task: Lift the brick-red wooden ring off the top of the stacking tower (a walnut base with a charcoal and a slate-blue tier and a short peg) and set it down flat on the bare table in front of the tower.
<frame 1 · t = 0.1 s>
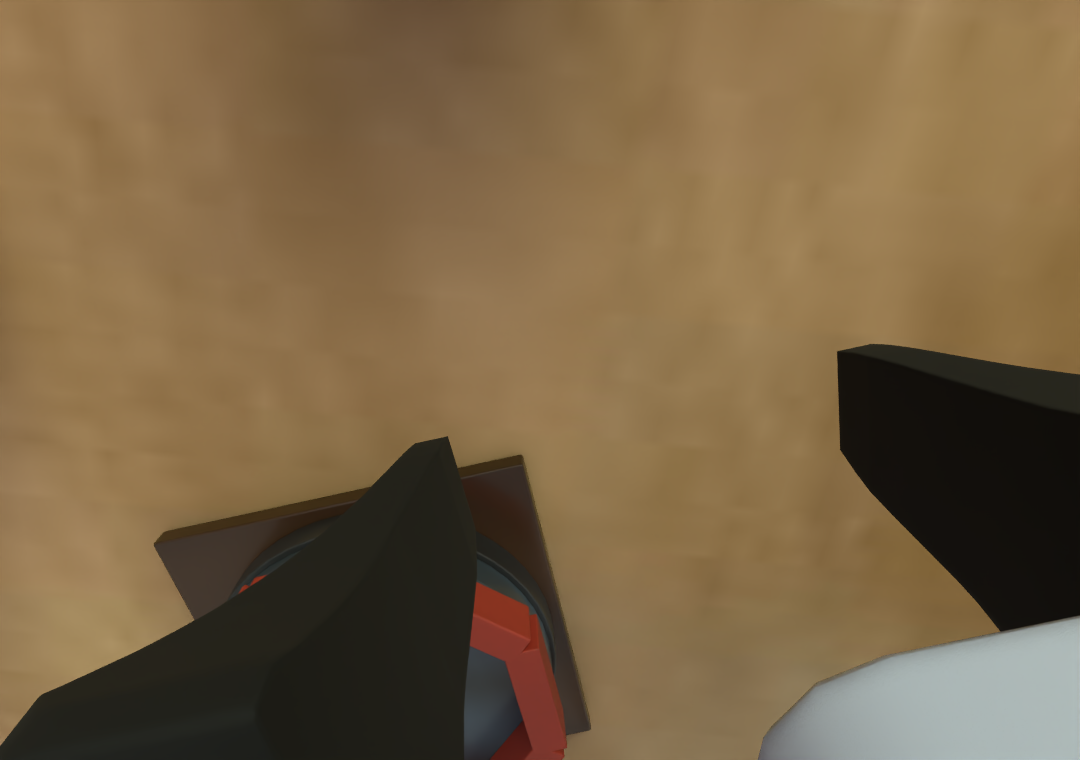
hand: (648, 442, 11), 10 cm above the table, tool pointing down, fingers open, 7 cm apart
stand: (396, 631, 26), on the table
brick ring: (382, 697, 23), point 3 cm above the table, touching stand
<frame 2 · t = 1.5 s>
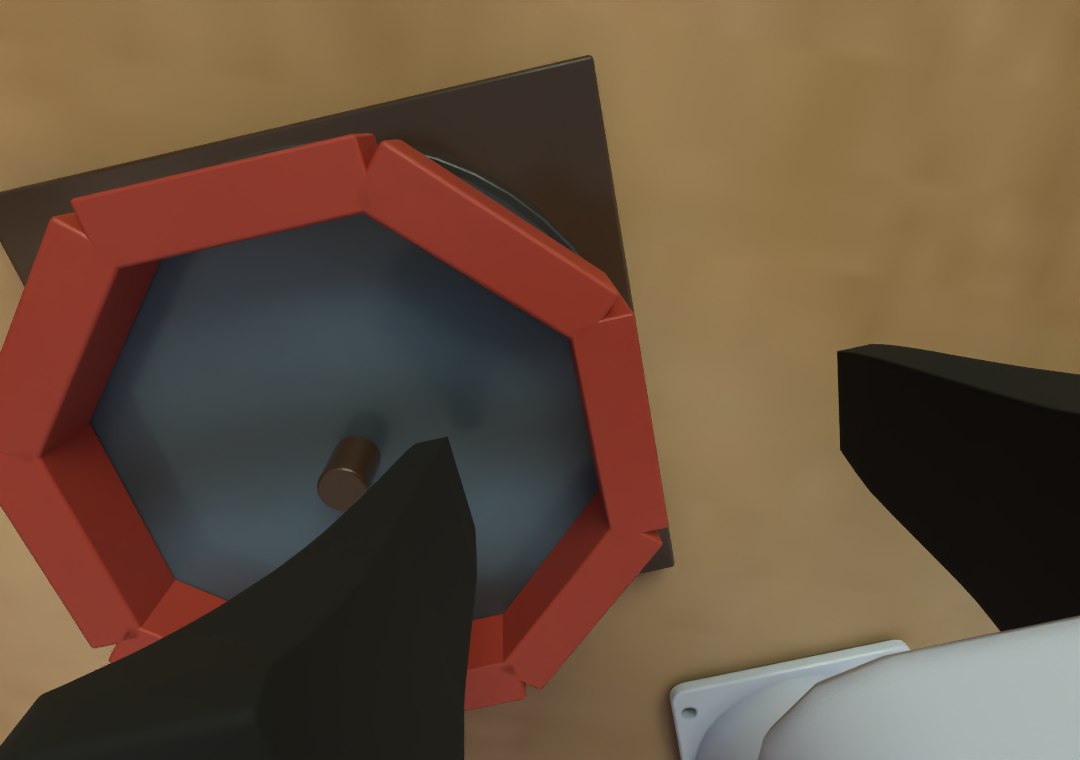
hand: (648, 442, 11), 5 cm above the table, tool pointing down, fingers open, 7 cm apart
stand: (382, 397, 17), on the table
brick ring: (357, 456, 14), point 3 cm above the table, touching stand
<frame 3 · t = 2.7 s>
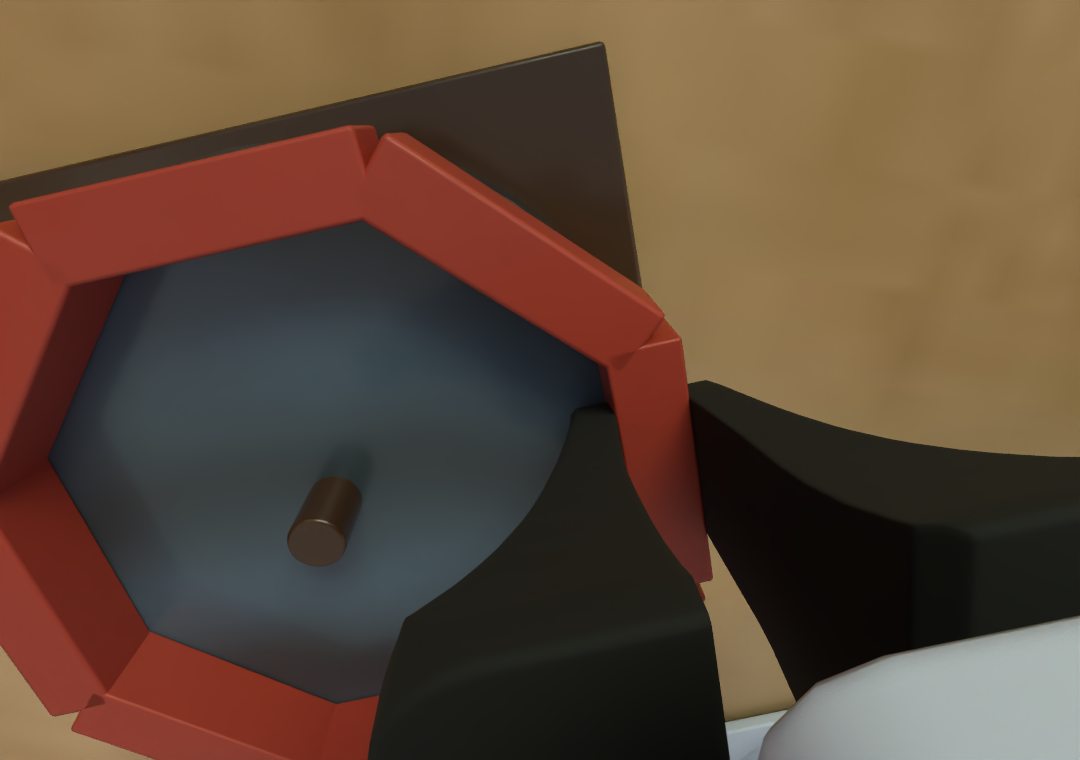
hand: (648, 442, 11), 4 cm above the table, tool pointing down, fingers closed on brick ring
stand: (368, 425, 15), on the table
brick ring: (355, 495, 12), point 3 cm above the table, touching gripper, stand
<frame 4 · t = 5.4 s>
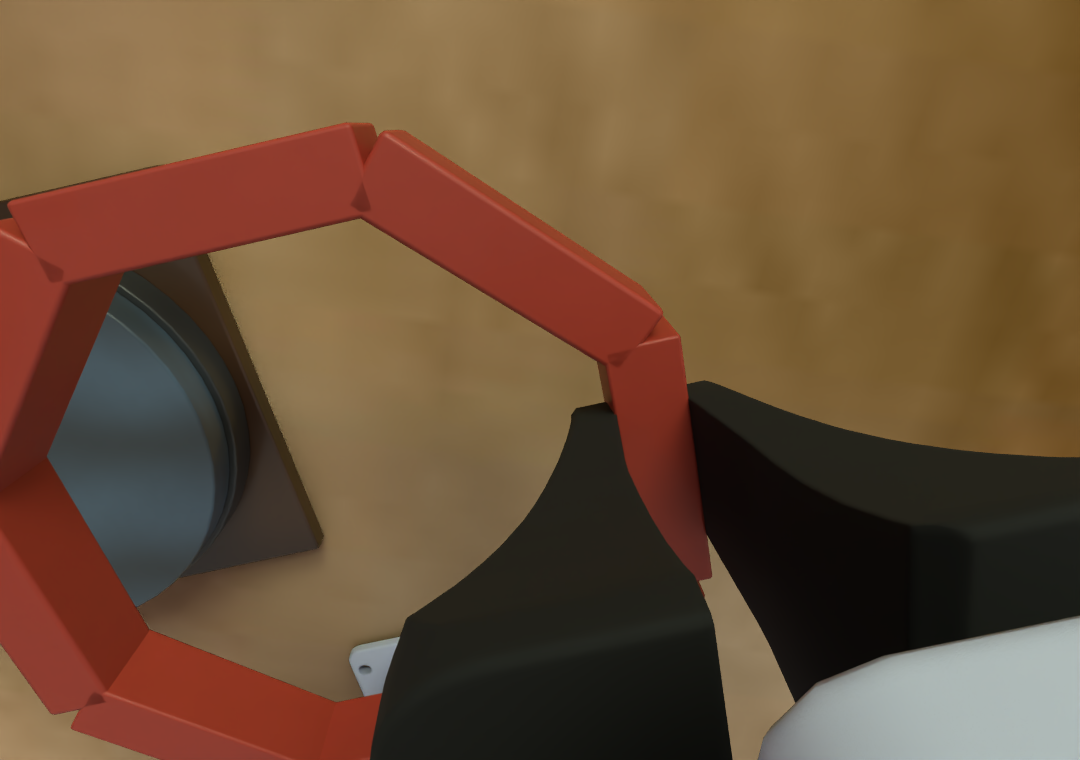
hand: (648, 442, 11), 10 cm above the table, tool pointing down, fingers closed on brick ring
stand: (63, 415, 21), on the table
brick ring: (354, 493, 12), point 10 cm above the table, touching gripper
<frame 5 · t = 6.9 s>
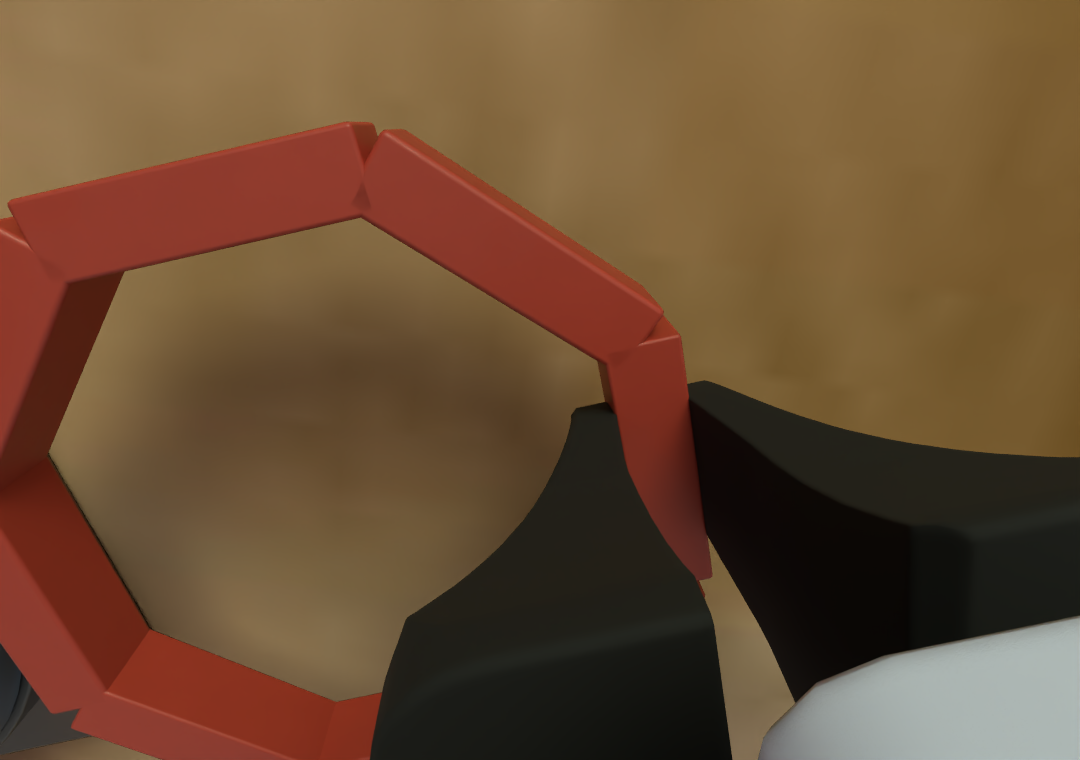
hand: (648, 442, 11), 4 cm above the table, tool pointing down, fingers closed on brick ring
brick ring: (354, 493, 12), point 3 cm above the table, touching gripper
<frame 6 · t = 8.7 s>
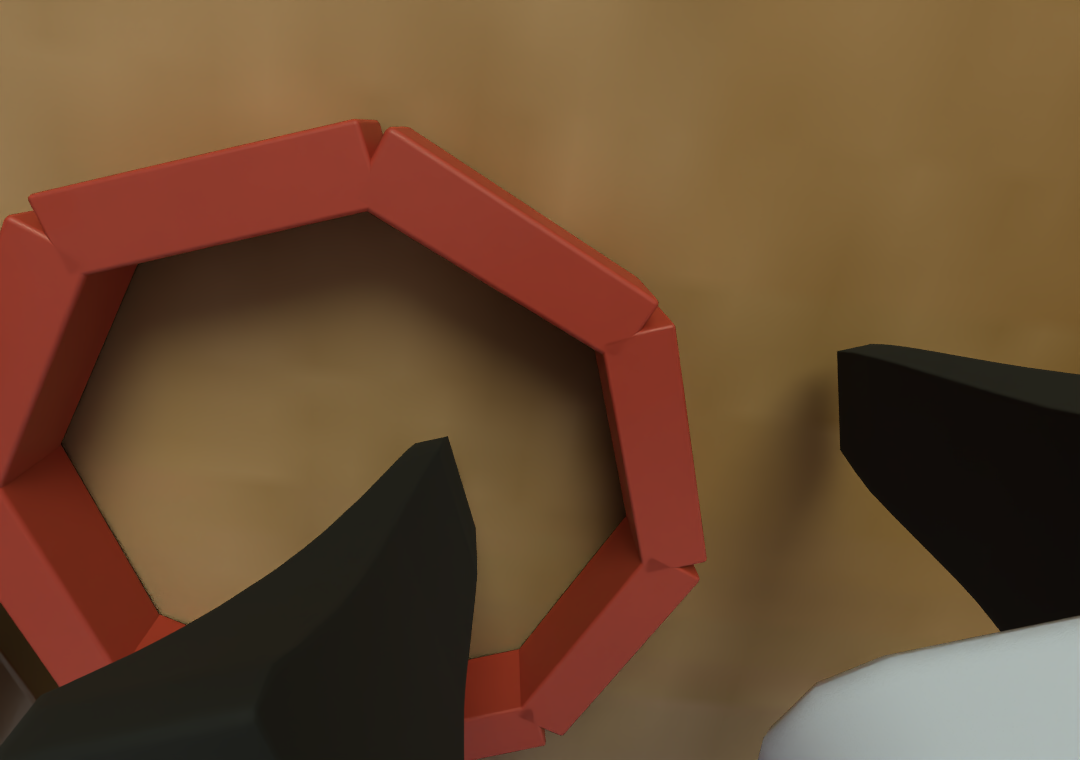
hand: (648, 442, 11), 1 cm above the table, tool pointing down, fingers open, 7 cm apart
brick ring: (359, 480, 12), on the table
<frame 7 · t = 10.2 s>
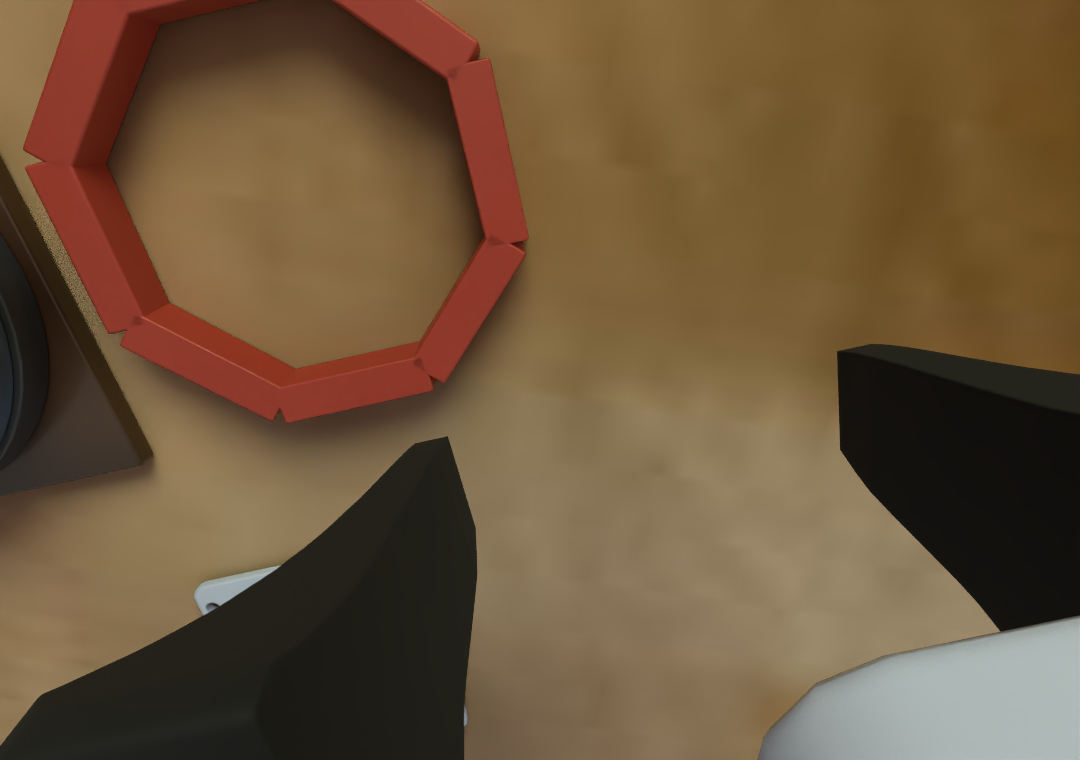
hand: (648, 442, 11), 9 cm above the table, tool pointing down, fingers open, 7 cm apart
brick ring: (303, 198, 18), on the table
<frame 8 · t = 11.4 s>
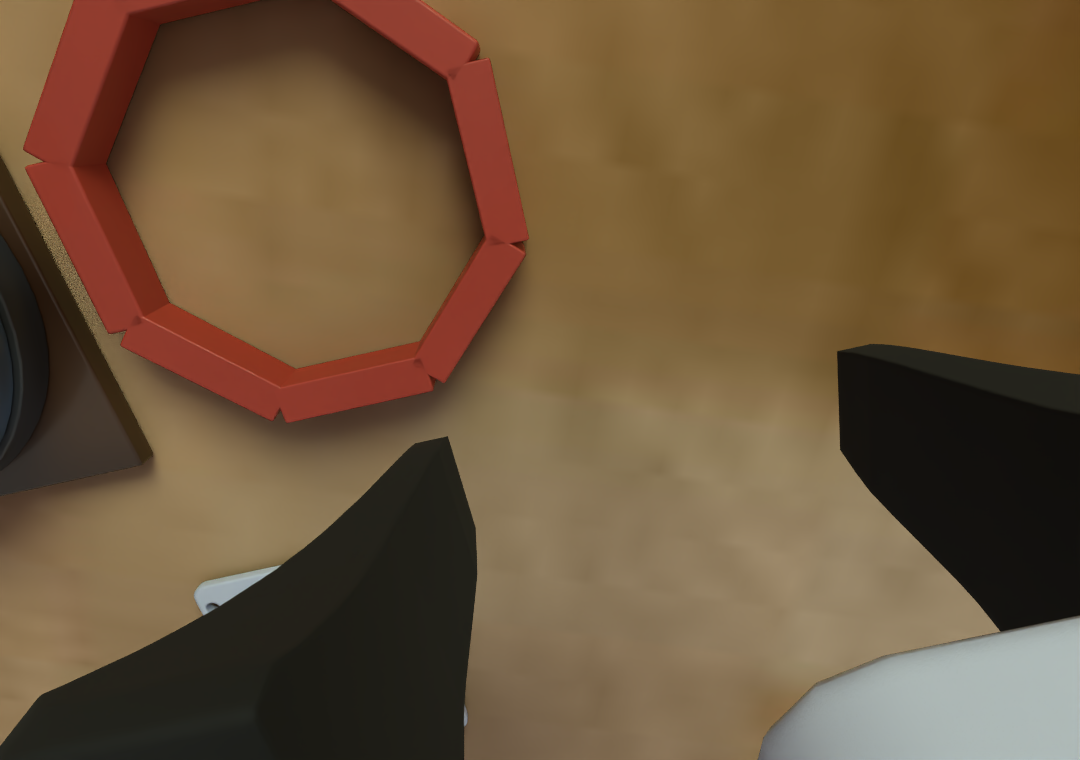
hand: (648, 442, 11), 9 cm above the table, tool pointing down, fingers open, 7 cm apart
brick ring: (303, 198, 18), on the table
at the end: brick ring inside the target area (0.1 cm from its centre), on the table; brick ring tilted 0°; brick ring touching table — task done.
